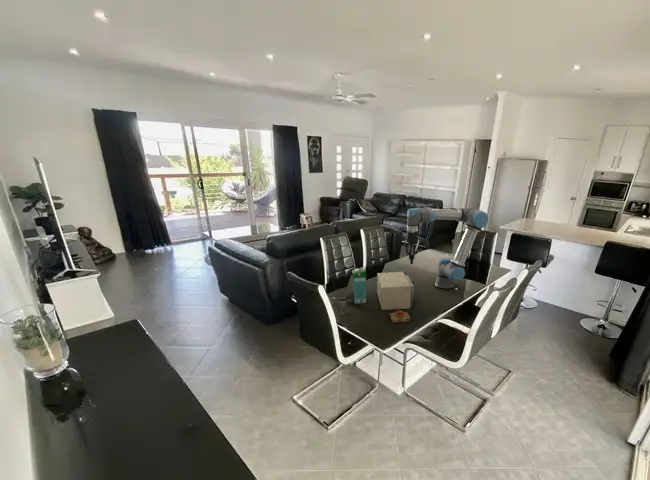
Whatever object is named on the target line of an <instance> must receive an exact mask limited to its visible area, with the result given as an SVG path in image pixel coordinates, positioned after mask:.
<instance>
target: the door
mask: <svg viewBox="0 0 650 480" xmlns="http://www.w3.org/2000/svg"><path fill="white" fill-rule="evenodd" d="M406 278H407V279H408V281H409V283H410V285H411V305H410V309H414V291H415V284H414V283H415V282H414V281H415V280H411V278H410V277H409V275H408V274H407V275H406Z"/></svg>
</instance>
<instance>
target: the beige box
mask: <svg viewBox="0 0 650 480" xmlns="http://www.w3.org/2000/svg"><path fill="white" fill-rule="evenodd" d="M406 275H408V274H407V272H406V271H392V272H391V271H389V272H377V274H376V279H377V280H376V287H377V288H376V290H377V291H376V292H377V298H378V300H379V304H380V309H381V311H387V310H388V311H389V310H404V309H405V310H406V309H407V310H408V309H411V307H410V305H411V285H410V283H409V281H408V279H407V278H406Z"/></svg>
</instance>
